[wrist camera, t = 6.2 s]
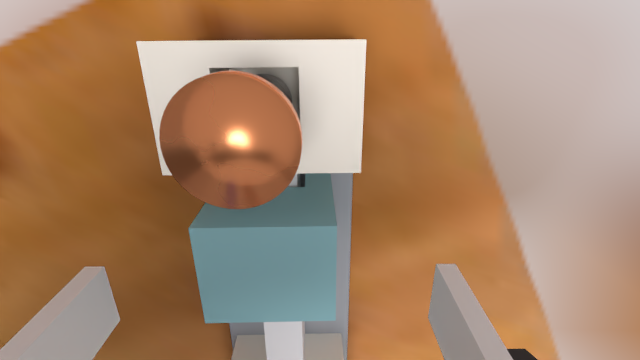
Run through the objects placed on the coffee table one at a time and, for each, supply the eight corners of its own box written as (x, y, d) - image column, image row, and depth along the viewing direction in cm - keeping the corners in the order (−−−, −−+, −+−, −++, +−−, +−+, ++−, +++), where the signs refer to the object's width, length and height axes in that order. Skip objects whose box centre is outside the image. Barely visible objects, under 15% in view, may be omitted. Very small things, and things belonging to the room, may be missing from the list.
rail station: (239, 369, 29) (214, 482, 22) (195, 40, 19) (121, 41, 12) (345, 367, 29) (356, 478, 22) (354, 39, 19) (380, 39, 12)
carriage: (237, 236, 23) (205, 323, 16) (229, 165, 21) (188, 228, 14) (328, 235, 23) (335, 320, 16) (329, 164, 21) (337, 226, 14)
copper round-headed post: (227, 142, 16) (172, 210, 9) (218, 58, 14) (146, 74, 8) (307, 141, 16) (303, 208, 9) (305, 58, 14) (299, 72, 8)
